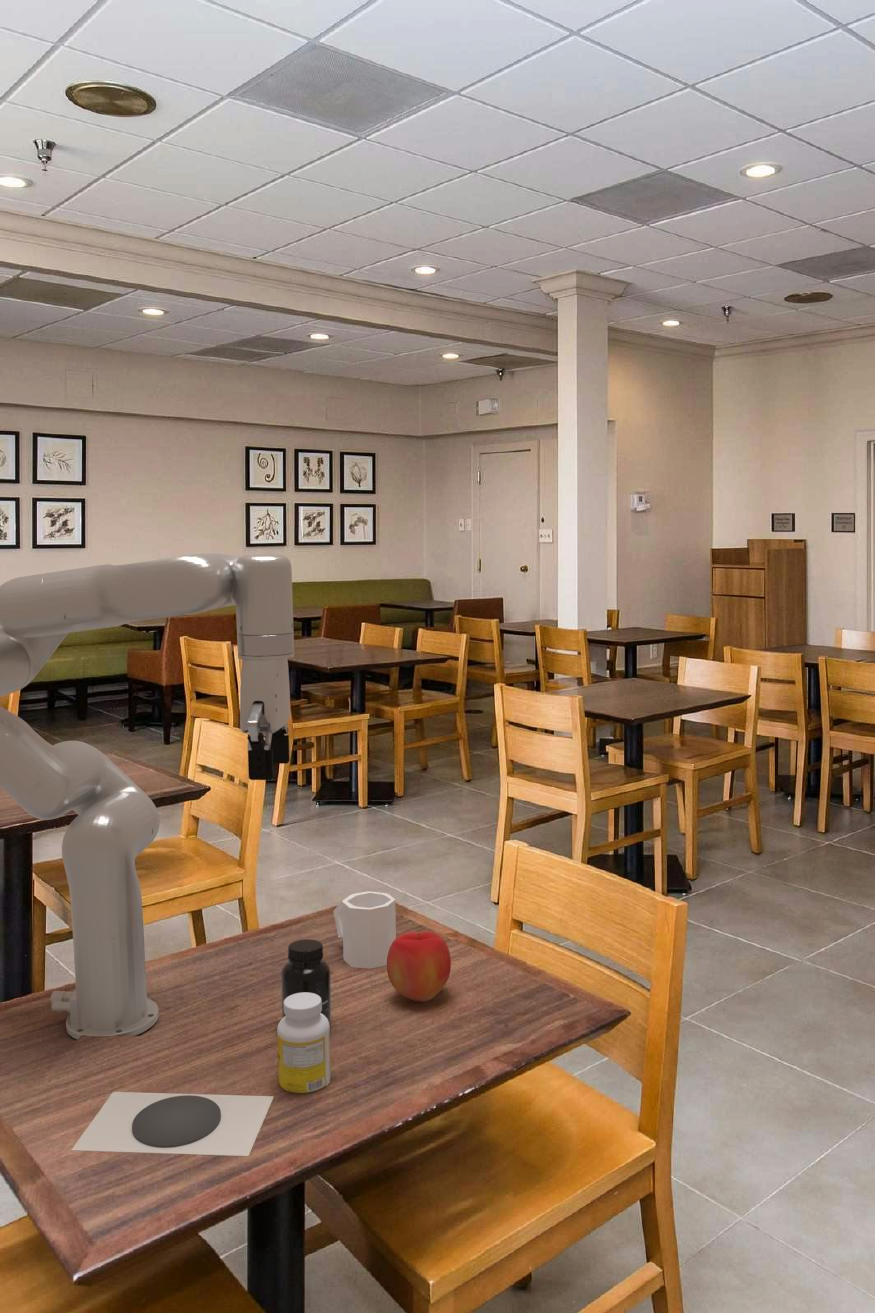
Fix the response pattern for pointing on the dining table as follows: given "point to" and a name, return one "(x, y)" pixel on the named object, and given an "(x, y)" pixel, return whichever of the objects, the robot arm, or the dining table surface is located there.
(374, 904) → the mug
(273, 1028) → the dining table surface
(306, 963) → the supplement bottle
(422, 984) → the apple
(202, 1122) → the pad
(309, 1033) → the pill bottle
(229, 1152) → the board
